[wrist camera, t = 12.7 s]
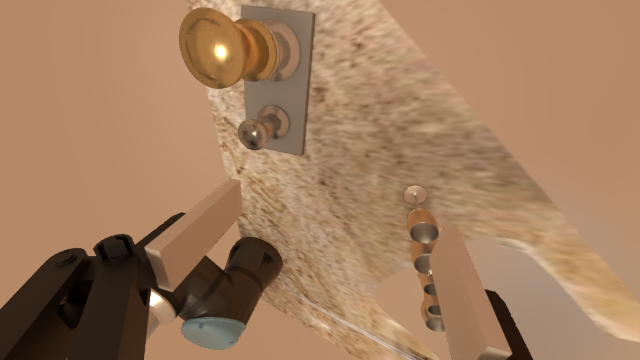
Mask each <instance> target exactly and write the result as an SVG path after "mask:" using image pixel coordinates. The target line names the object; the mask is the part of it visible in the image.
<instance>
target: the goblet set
mask: <svg viewBox="0 0 640 360" xmlns="http://www.w3.org/2000/svg"><path fill="white" fill-rule="evenodd" d="M426 197H427V192H426V190H425V189H424V188H423V187H421V186H417V185H414V186H410V187H408V188H407V189H406V190H405V192H404V199H405V200H406V201H407V202H408V203H411V204H416V209H414V210H412V211H410V212H409V213H408V216H407V228H408V231H409V234H410V236H411V238H412V239H413V241H414V242H413V244H412V248H411V258H412V261H413V264H414V267H415V269H416V270H417V271H418V277H419V279H420V281H421V285H422V287H423V290H424V301H423V303H422V305H421V315H422V317H423V320H424V322H425V324H426V325H427V327H428V328H429V329H431V330H433V331H437V332H444V331H445V328H444V323H443V319H442V314H441V310H440V306H439V301H438V297H437V292H436V288H435V284H434V279H433V275H432V270H431V266H430V262H429V257H430V255H431V253H432V251H433V249H434V247H435V245H436V243H437V241H436V240H435V239H436V238H437V237H438V235H439V228H438V223H437V220H436V218H435V217H434V215H433V214H432V213H431V212H429V211H428V210H426V209H422V208H420V206H419V203H422V202H423V201H424V200H425V199H426Z"/></svg>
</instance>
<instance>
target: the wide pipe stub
mask: <svg viewBox="0 0 640 360" xmlns="http://www.w3.org/2000/svg"><path fill="white" fill-rule="evenodd" d="M252 20H255V19H252ZM256 21H258V20H256ZM258 22H260V23H262V24H263V25H264V26H265V27H266V28H267V29H268V30H269V31H270V33H271V34H272V36H273V38H274V41H275V44H276V48H277V61H276V65H275V68H274V70H273V72H272V73H271V74H270V75H269V76H268V77H267V78H265V79H268V80H271V81H282V80H285V79H287V78H289V77H291V76H292V75H293V74H294V73H295V71H296V70H297V68H298V65H299V62H300V57H301V50H300V44H299V41H298V38H297V36H296V34H295V33H294V31H293V30H292V29H291V28H290V27H289V26H288V25H286V24H285V23H283V22H281V21H278V20H266V21H263V22H261V21H258ZM265 79H264V80H265Z"/></svg>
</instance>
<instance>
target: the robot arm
mask: <svg viewBox="0 0 640 360" xmlns="http://www.w3.org/2000/svg"><path fill="white" fill-rule="evenodd" d="M241 214H242V199H241V184H240V180H236V179H231V178H229V179H228V180H227V181H226V182H225V183H223V184H222V185H221V186H220V187H218V188H217V189H216V190H215V191H213V192H212V193H211V194H210V195H208V196H207V197H206V198H205V199H203V200H202V201H201V202H200V203H198V204H197V205H196V206H195V207H194V208H192V209H191V210H190V211H189V212H187V213H179V214H177V215H174V216H172V217H171V218H169V219H168V220H167V221H165V222H164V224H162V225H160V226H159V227H158V228H157V229H155V230H154V231H152V232H151V233H150V234H148V235H147V236H146V237H145V238H143V239H142V240H141V241H139V242H138V243H137V244H135V245H134V242H133V240H132V237H130V236H129V235H125V234H119V235H114V236H110V237H108V238H105V239H103V240H101V241H100V242H99V243H98V244H96V246H95V247H94V248H93V250H94V252H95V254H96V256H88V255H87V253H86V251H85V250H83V249H82V248H72V249H67V250H64V251H62V252H59V253H57V254H55V255H53V256H52V257H50V258H49V259H48V260H47V261H46V262H45V263H44V264H43V265H42V266H41V267H40V268H39V269H38V270H37V271H36V272H35V273H34V274H33V275H32V277H31V278H30V279H29V280H28V281H27V282H26V283H25V284H24V285H23V286H22V287H21V288H20V289H19V290H18V291H17V292H16V293H15V294H14V295H13V297H11V299H10V300H9V301H8V302H7V303H6V304H5V305H4V306H3V307H2V308H1V309H0V360H144V353H145V344H146V341H147V340H148V339H149V337H150V336H151V335H152V334H153V333H154V331H155V330H156V329H157V328H158V327H159V326H161V325H165V324H169V323H172V322H173V321H174V319H175V318H176V317H177V316H179V317H181V318H182V319H183V320H184V321H185V322H183V324H182V327H181V333H182V334H183V335H184V337H185V338H186V339H187V340H189V341H190V342H192V343H194V344H196V345H199V346H201V347H204V348H208V349H213V350H225V349H229V348H231V347H232V346H234V345H235V344H236V343H237V341H238V339H239V337H240V336H241V334H242V332H243V331H244V330H245V328H246V325H247V323H248V321H249V319H250V317H251V315H252V313H253V311H254V309H255V306H256V305H257V303H258V300H259V299H260V297H261V295H262V293H263V291H264V290H265V289H266V288H267V287H268V286H269V285H270V284H271V283H272V282H273V281H274V280H275V279H276V278H277V276H278V275H279V273H280V271H281V268H282V260H281V257H280V255H279V253H278V252H277V251H276V250H275V249H274V248H273V247H272V246H271V245H270V244H268V243H267V242H265V241H263V240H260V239H257V238H251V237H248V238H242V239H240V240H238V241H237V242H236V243H235V245H234V246H233V247H232V249H231V251H230V254H229V257H228V260H227V263H226V266H225V269H224V270H222V269H221V268H220V267H219V266H218V265H216V264H215V263H214V262H213V261H212V260H211V259H209V258H208V257H207V256H206V254H207V253H208V251H209V250H210V249H211V248H212V247H213V246H214V245H215V243H216V242H217V241H218V240H219V239H220V238H221V237H222V236H223V235H224V233H225V232H226V231H227V230H228V229H229V228H230V227H231V226H232V224H233V223H234V222H235V221H236V220H237V219H238V218H239V216H240V215H241ZM429 262H430V266H431V270H432V275H433V279H434V284H435V288H436V292H437V297H438V301H439V306H440V310H441V314H442V319H443V323H444V328H445V332H446V337H447V341H448V345H449V350H450V354H451V358H452V360H533V358H532V356H531V354H530V352H529V350H528V348H527V346H526V344H525V342H524V340H523V338H522V336H521V334H520V332H519V330H518V328H517V327H516V326H515V325H516V324H515V322H514V320H513V318H512V317H511V314H510V312H509V310H508V308H507V306H506V304H505V302H504V301H503V300H502V299H501V298H500V297H499V295H498V294H497V293H496V292H493V291H490V290H486V289H484V287H483V285H482V283H481V280H480V278H479V276H478V273H477V271H476V269H475V267H474V264H473V262H472V260H471V257H470V255H469V253H468V251H467V248H466V246H465V243H464V241H463V239H462V237H461V234H460V232H459V230H458V229H456V228H451V227H447V226H444V228H443V230H442V232H441V234H440V236H439V239H438V241H437V243H436V245H435V247H434V249H433V251H432V253H431V255H430V257H429Z"/></svg>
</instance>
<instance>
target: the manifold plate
mask: <svg viewBox="0 0 640 360" xmlns="http://www.w3.org/2000/svg"><path fill="white" fill-rule="evenodd" d="M241 18H242V19H244V18H248V19H255V20H258V21H261V22H263V21H266V20H278V21H281V22H283V23H285V24H286V25H288V26H289V27H290V28H291V29H292V30H293V31H294V33H295V34H296V36H297V38H298V41H299V44H300V50H301V57H300V62H299V65H298V68H297V70H296V71H295V73H294V74H293V75H292V76H291V77H289V78H287V79H285V80H282V81H271V80H268V79H265V80H261V81H256V82H251V81H246V80H244V86H245V109H246V120H248V119H255V120H257V116H258V113H259V111H260V110H261V109H262V108H264V107H266V106H268V105H276V106H279V107H280V108H282V109H283V110H284V111H285V112H286V113H287V115H288V117H289V121H290V127H289V130H288V132H287V133H286V135H284V136H283V137H282V138H279V139H271V138H269V139H268V142H267V144H266V145H265V146H264V147H263V148H264V149H269V150H274V151H279V152H284V153H289V154H294V155H298V156H302V155H303V154H304V142H305V130H306V118H307V107H308V95H309V83H310V71H311V59H312V47H313V35H314V23H315V14H314V13H310V12H300V11H291V10H282V9H273V8H263V7H254V6H245V5H241Z"/></svg>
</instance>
